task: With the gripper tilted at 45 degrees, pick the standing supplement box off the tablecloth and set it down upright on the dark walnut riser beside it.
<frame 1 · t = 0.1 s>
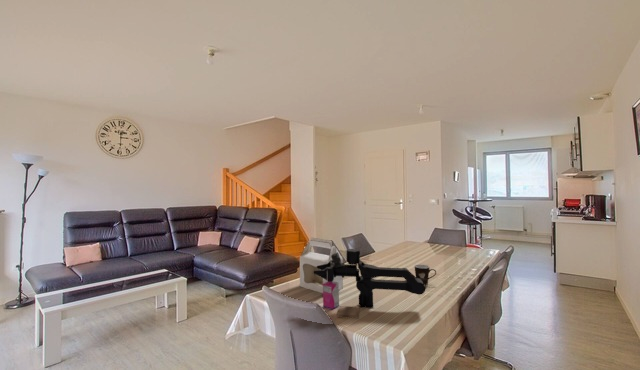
hand: (315, 269, 150), 17 cm above the table, tool horizontal, fingers open, 9 cm apart
supplement box: (331, 306, 145), on the table
gable box: (321, 287, 172), on the table
walnut riser: (348, 313, 137), on the table
coffee mug: (424, 283, 178), on the table
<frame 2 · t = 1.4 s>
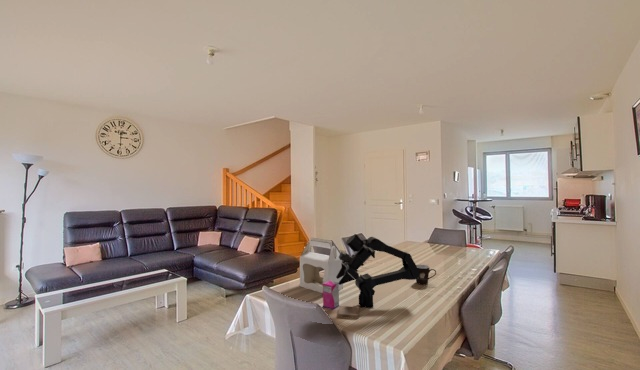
hand: (337, 280, 145), 12 cm above the table, tool tilted 45°, fingers open, 9 cm apart
nothing on the table moved.
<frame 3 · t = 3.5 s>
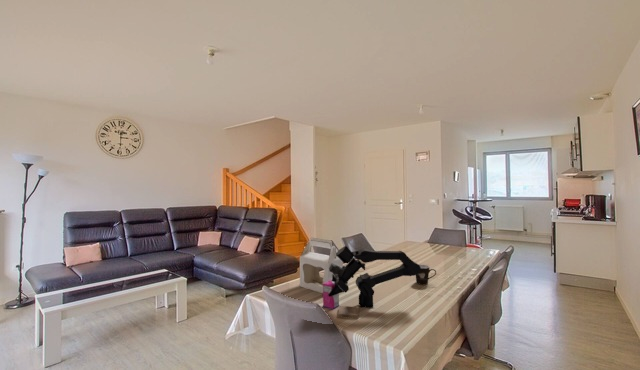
hand: (328, 292, 145), 7 cm above the table, tool tilted 45°, fingers closed on supplement box, 8 cm apart
supplement box: (331, 306, 145), on the table, touching gripper
everything else where it was.
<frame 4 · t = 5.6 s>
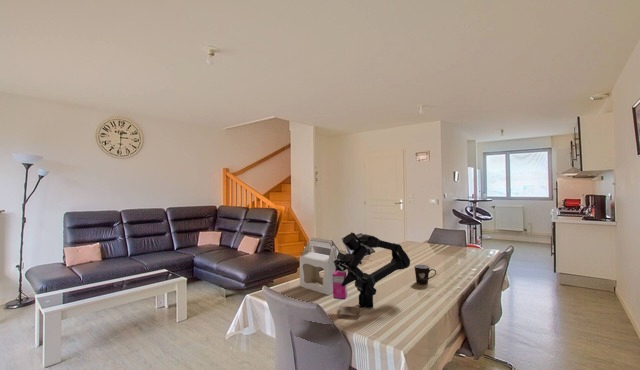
hand: (337, 283, 139), 13 cm above the table, tool tilted 45°, fingers closed on supplement box, 8 cm apart
supplement box: (340, 297, 139), point 6 cm above the table, touching gripper
everything else where it was.
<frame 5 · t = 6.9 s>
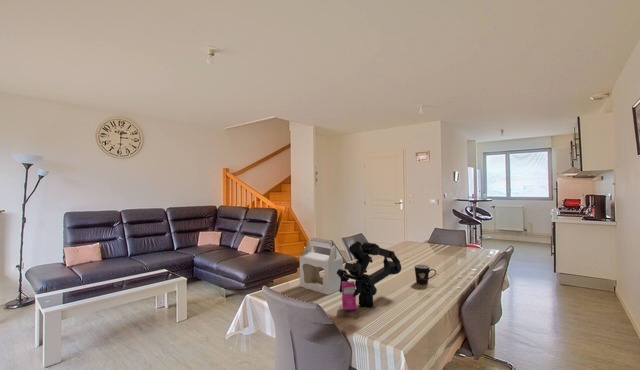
hand: (346, 294, 136), 9 cm above the table, tool tilted 45°, fingers closed on supplement box, 8 cm apart
supplement box: (348, 308, 137), point 2 cm above the table, touching gripper
everything else where it was.
when the fingers open (9 cm above the table, at t = 8.0 s): supplement box stays where it is, resting on walnut riser.
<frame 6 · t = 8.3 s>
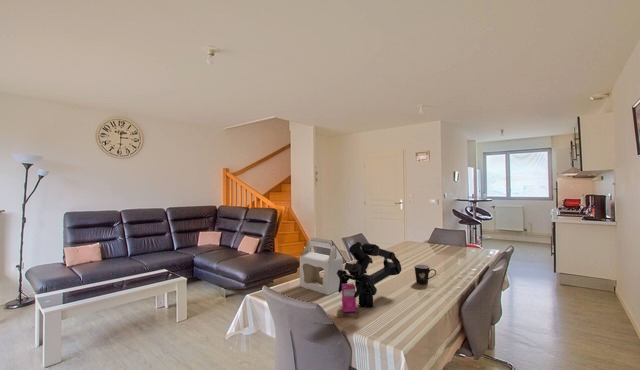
hand: (346, 294, 136), 9 cm above the table, tool tilted 45°, fingers open, 9 cm apart
supplement box: (348, 310, 137), point 1 cm above the table, touching walnut riser
everything else where it was.
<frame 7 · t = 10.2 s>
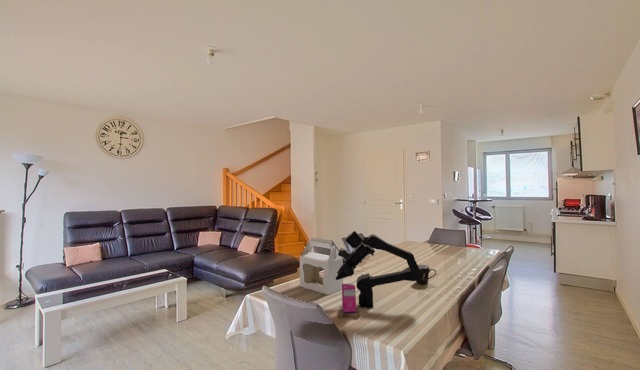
hand: (336, 276, 148), 14 cm above the table, tool tilted 45°, fingers open, 9 cm apart
nothing on the table moved.
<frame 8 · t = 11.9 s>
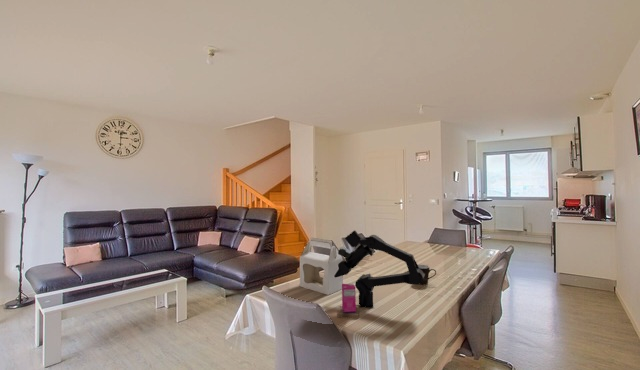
hand: (337, 274, 152), 14 cm above the table, tool tilted 45°, fingers open, 9 cm apart
nothing on the table moved.
at the end: supplement box 0.1 cm off-centre on the walnut riser, point 1.3 cm above the walnut riser's base; supplement box tilted 0°; the gripper is holding nothing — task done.
